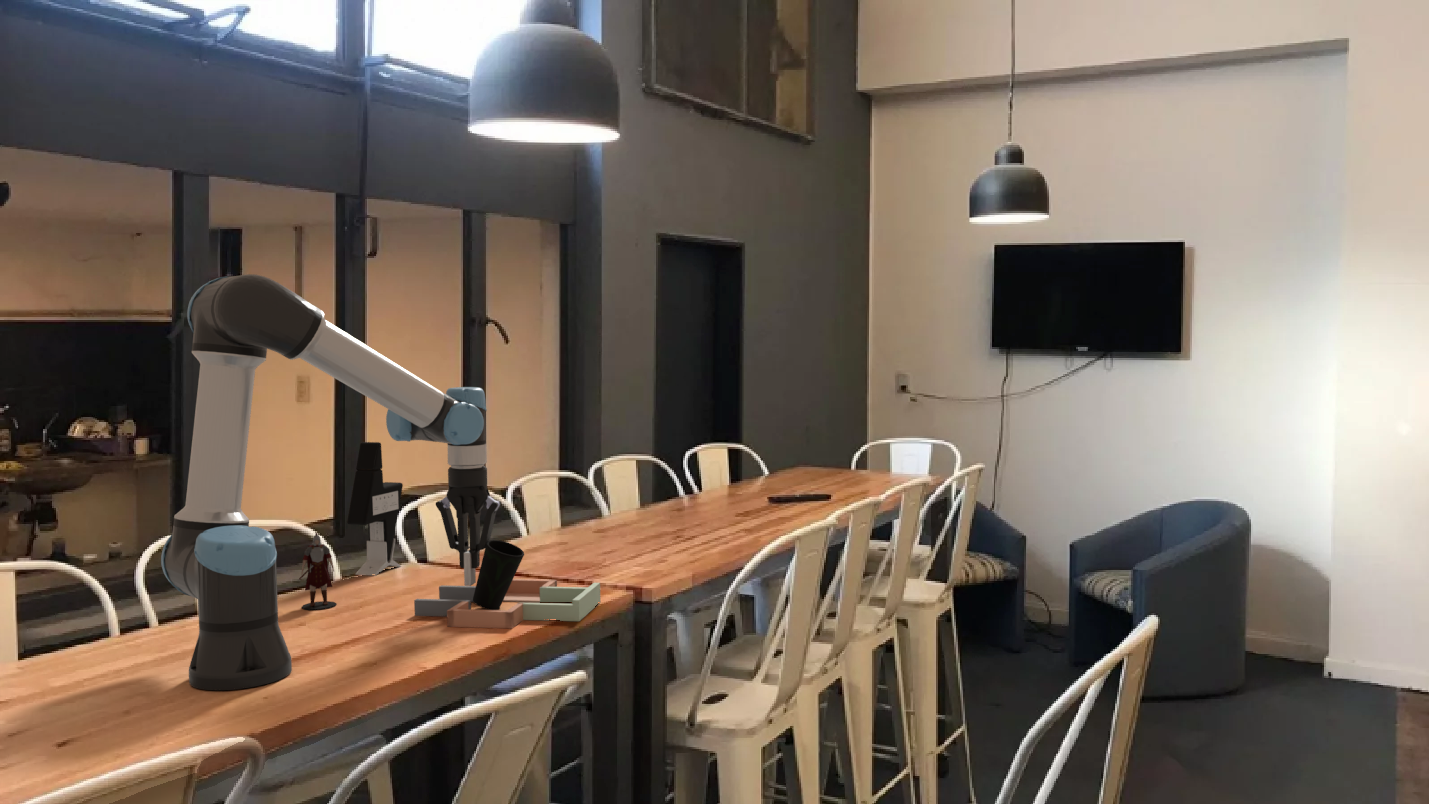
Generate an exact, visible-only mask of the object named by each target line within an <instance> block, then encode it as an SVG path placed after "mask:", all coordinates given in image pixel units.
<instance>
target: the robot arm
mask: <svg viewBox="0 0 1429 804" xmlns="http://www.w3.org/2000/svg"><path fill="white" fill-rule="evenodd" d="M187 306H188V307H187V313H186V316H187V322H188V326H189V328H190V329H191V332H192V333H193V337H192V344H191V345H192V346H191V354H192V355H193V356H194V357H195V358H196V359H197V361H198V362H199V364H200V365H199V375H198V383H197V384H198V385H197V394H196V402H195V412H194V421H193V429H192V438H191V439H192V441H191V448H190V449H191V451H190V457H189V459H190V460H189V469H188V476H187V486H186V487H187V488H186V489H187V490H186V495H185V496H186V498H185V506H184V507H183V508H182V509H180V510H179V511H178V512H177V513H176V514H174V517H173V526H172V533H171V535H170V536H169V537H168V538H167V540H166V541H165V543H164V545H163V548H162V551H161V554H160V555H161V556H160V557H161V558H160V559H161V560H160V563H161V564H160V565H161V568H162V572H163V574H164V576H165V578H166V579H167V580H168V583H170V584H171V585H172V586H173V587H174V588H175V589H176V590H177V591H178V592H180V593H182V594H184V595H185V596H189V597H191V598H195V599H196V600H197V608H198V635H197V636H198V637H197V640H196V644H195V646H194V650H193V654H192V655H191V661H190V663H189V666H188V681H189V682H188V683H189V685H190V686H191V687H193V688H194V689H195V688H196V689H199V690H206V691H230V690H241V689H243V690H244V689H248V688H254V687H258V686H259V687H260V686H264V685H266V684H271V683H274V682H277V681H279V680H281V679H284V678H286V677H287V676H289V675H290V674H291V673H292V671H293V668H292V667H293V664H292V656H291V655H292V654H291V653H290V652H289V651H290V650H289V648H288V646H287V643H286V640H285V637H284V636H283V632H282V631H281V628H280V625H279V602H278V601H279V600H278V578H277V577H278V576H277V558H278V557H277V556H278V553H277V548H276V543H275V539H274V536H273V534H272V533H271V532H270V531H268V530H267V529H264V528H261V527H259V526H258V527H257V526H250V518H249V517H248V516H247V515H246V514H245V513H244V511H243V510H242V501H243V492H244V491H243V489H244V482H245V481H244V480H245V472H246V461H247V453H248V445H249V443H248V442H249V433H250V425H251V423H250V422H251V414H252V405H253V404H252V403H253V395H254V394H253V393H254V386H255V384H254V383H255V375H256V374H255V373H256V370H257V368H258V367H259V366H261V365H262V364H263V363H265V362H266V361H267V355H268V353H267V352H268V350H270V351H272V352H275V353H278V354H279V355H281V356H283V357H285V358H286V359H288V360H290V361H291V360H292V361H293V360H297V359H301V360H303V361H304V362H306V363H307V364H309V365H311V366H313V367H315V368H317V369H318V370H319V371H321V372H323V373H325V374H327V375H329V376H330V377H332V378H333V379H335V380H337V381H339V382H341V383H343V384H344V385H346V386H347V387H349V388H351V389H353V390H355V391H356V392H358V393H360V394H362V395H363V396H365V397H367V398H368V399H370V400H372V401H373V402H374V403H377V404H379V405H380V406H382V407H384V408H385V409H386V410H387V412H386V417H385V419H386V422H385V425H386V429H387V431H388V432H387V433H388V435H389V436H390V437H391V439H392V440H394V441H395V442H411V441H425V442H426V441H427V442H435V443H443V444H446V445H447V464H448V465H449V466H450V467H449V468H448V469H447V478H448V479H447V483H448V489H447V492H446V496H444V497H443V498H442V499H440V500H437V501H436V502H435V506H436V508H437V510H438V511H439V512H440V515H441V518H442V519H441V520H442V524H443V527H444V531H445V535H446V539H447V541H448V546H449V548H450V549H452V550H453V549H454V550H456V551H457V552H458V553H459V559H458V560H459V567H460V568H461V569H463V575H464V576H463V579H464V585H463V586H474V584H477V580H476V579H477V578H476V577H477V576H476V569H477V568H479V567H480V566H481V562H480V561H481V560H480V558H481V557H480V553H481V551H482V550H485V547H486V543H487V541H490V540H491V539H492V537H491V536H492V533H493V527H494V523H495V520H496V514H497V511H498V510H499V508H500V507H501V505H502V502H501V500H496V499H494V498H493V497H492V496H491V494H490V491H489V490H488V467H486V466H485V465H486V464H487V462H488V457H487V456H488V455H487V454H488V453H487V452H488V451H487V450H488V449H487V405H486V403H487V402H486V395H485V391H484V389H483V388H482V387H477V386H462V387H461V386H460V387H458V386H456V387H449V388H448V389H446V392H445V393H444V392H443V391H441V390H440V389H438V388H436V387H435V386H433V385H431V384H430V383H429V382H427V381H425V380H423V379H422V378H421V377H419V376H417V375H416V374H414V373H412V372H411V371H409V370H407V369H406V368H404V367H402V366H401V365H399V364H398V363H396V362H394V361H393V360H391V359H389V358H388V357H386V355H385V356H384V355H383V354H382V353H380V352H378V351H376V350H375V349H373V348H372V347H370V346H368V345H367V344H366V343H364V342H362V341H361V340H359V339H357V338H356V337H354V336H352V335H351V334H349V333H348V332H346V331H344V330H342V329H341V328H339V327H338V326H336V325H335V324H333V323H332V322H330V321H329V320H326V318H325V313H324V311H323V310H322V309H321V308H319V307H317V306H316V305H314V304H312V303H310V302H309V301H308V300H307V299H304V298H303V297H301V295H299V294H297V293H296V292H295V291H293V290H291V289H289V288H288V287H286V286H284V285H283V284H281V283H279V282H278V281H275V280H273V279H271V278H269V277H267V276H263V275H261V274H260V275H259V274H250V273H248V274H247V273H246V274H242V275H236V276H235V275H234V276H221V277H217V278H214V279H212V280H209V281H208V282H206V283H205V284H202V286H200V287H199V288H198V289H197V290H195V292H194V293H193V295H192V296H191V298H190V300H189V303H188V305H187ZM485 505H486V509H487V511H486V513H485V516H484V521H483V527H482V530H481V519H480V517H481V514H482V511H481V510H482V509H483V507H484V506H485ZM451 506H452V507H453V508H454V510H455V513H456V514H455V515H456V519H457V528H456V524H455V523H456V522H455V520H454V516H453V512H452V509H451Z"/></svg>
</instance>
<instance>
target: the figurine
mask: <svg viewBox="0 0 1429 804" xmlns="http://www.w3.org/2000/svg"><path fill="white" fill-rule="evenodd" d="M321 540H322V539H321V537H320V535H318V532H315V535H314V536H313V538H312V543H311V544H310V545H308V546H307V548H306V549H305V550H304V553H303V558H302V566H301V567H302V568H301V576H300V577H299V578H298V579H299V580H298V581H300V580H301V579H302V578H303V577H304V576H305V575H307V577H306V580H305V581H306V583H305V588H304V590H305V591H309V598H310V602H308V603H305V604H303V605H302V606H301V609H302V610H304V611H322V610H328V609H332V608H335V607H336V606H337V602H336V601H330V600H329V601H328V591H327V588H333V583H332V580H331V577H330V573H329V564H330V566H331V568H332V572H335V569H334V568H335V567H334V564H333V559H332V554H331V550H330V548H329V547H328V546H327V545H325V544H324V543H322V541H321ZM328 562H329V564H328ZM306 565H307V570H306V571H305V572H304V570H305V566H306ZM317 589H320V593H321V596H322V601H315V599H316V593H317V592H316V591H317Z"/></svg>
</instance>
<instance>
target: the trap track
mask: <svg viewBox="0 0 1429 804" xmlns="http://www.w3.org/2000/svg"><path fill="white" fill-rule="evenodd" d="M475 588H476V585H471V586H464V585H439V587H438V596H439V598H415V599H414V600H413V601H414V616H415V617H417V616H419V617H447V618H446V621H447V622H446V623H447V627H453V628H483V629H484V628H486V629H487V628H490V629H514V627H516V626H517V625H518V624H520V623H521V622H523V621H547V620H546V619H549V620H550V619H556V620H560V621H559V622H562V621H563V622H581V620H583V619H584V618H585V617H586V616H587V615H589V613H590V612H591V611H593V610H594V609H595V608H596V607H597V606H598V605H599V604H598V602H600V603H601V582H593V583H592V584H590V585H589V586H588V587H587V586H586V587H584V586H583V587H581V586H580V587H579V586H558V580H557V579H536V578H534V579H533V578H532V579H531V578H527V579H525V578H513V580H512V582H511V584H510V587H509V589H508V591H507V593H506V595H505V597H504V600H503V602H510V603H511V602H513V603H515V602H517V603H516V604H514V605H513V606H511V607H510V608H509V609H507V610H505V609H503V610H501V609H497V610H490V609H472V603H474V602H473V596H474V592H475ZM540 602H572V603H540ZM597 604H598V605H597ZM596 605H597V606H596ZM595 606H596V607H595ZM544 619H545V620H544ZM549 620H548V621H549Z"/></svg>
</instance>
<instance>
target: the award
mask: <svg viewBox="0 0 1429 804" xmlns="http://www.w3.org/2000/svg"><path fill="white" fill-rule="evenodd" d="M382 452H383V451H382V444H381V442H379V441H372V442H370V441H361V442H360V445H359V450H358V457H357V459H356V468H355V470H356V471H355V473H354V480H353V485H352V491H351V496H350V497H351V498H350V502H349V508H348V514H347V521H346V522H347V525H353V526H354V525H355V526H367V529H368V531H367V532H368V540H366V561H365V562H364V563H363V564H362V566H360V567H359V569H358V571H356V572H355V575H362V576H373V575H372V574H375V575H374V576H377V575H378V574H380V573H381V572H382V571H383V570H385V569H386V568H387V567H394V568H395V567H396V568H397V567H398V568H401V567H402V565H401V564H399V562H397V561H395V560H394V559H393V557H394V551H395V545H396V538H394V537H395V533H396V526H397V521H398V520H397V519H398V516H399V515H398V514H399V509H400V504H401V498H402V492H403V487H404V484H403V482H396V481H395V482H390V481H389V482H388V481H385V482H384V475H383V470H382V469H383V455H382ZM379 572H380V573H379ZM374 576H373V577H374Z"/></svg>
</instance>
